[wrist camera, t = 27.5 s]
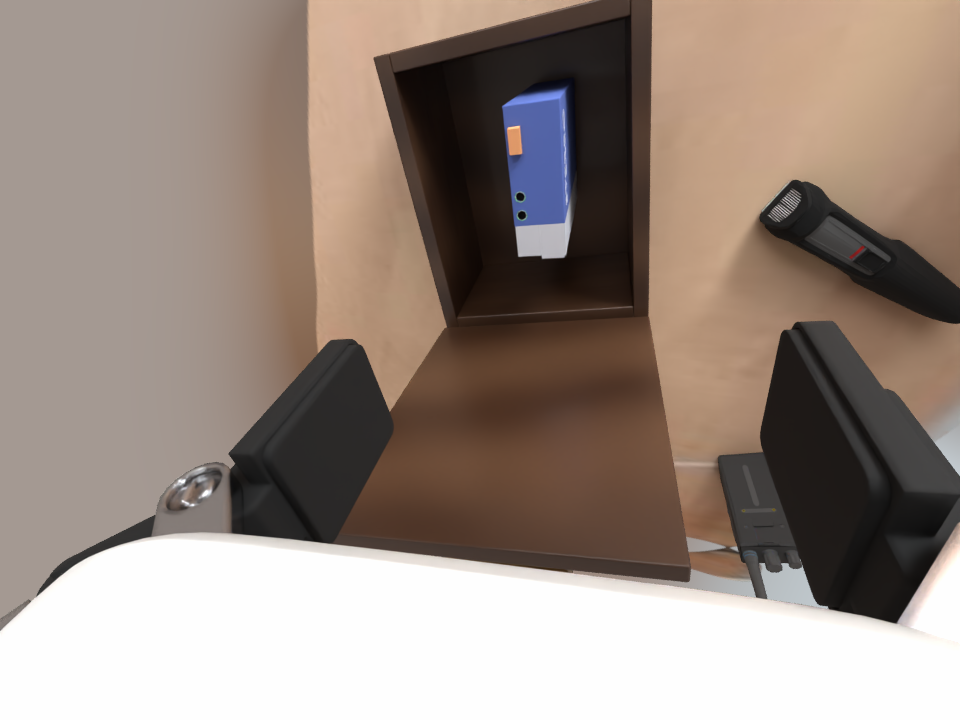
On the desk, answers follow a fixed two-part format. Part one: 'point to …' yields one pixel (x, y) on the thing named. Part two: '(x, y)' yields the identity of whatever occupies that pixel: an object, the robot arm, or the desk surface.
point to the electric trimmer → (860, 251)
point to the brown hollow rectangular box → (485, 173)
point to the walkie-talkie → (756, 516)
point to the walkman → (542, 166)
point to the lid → (531, 454)
